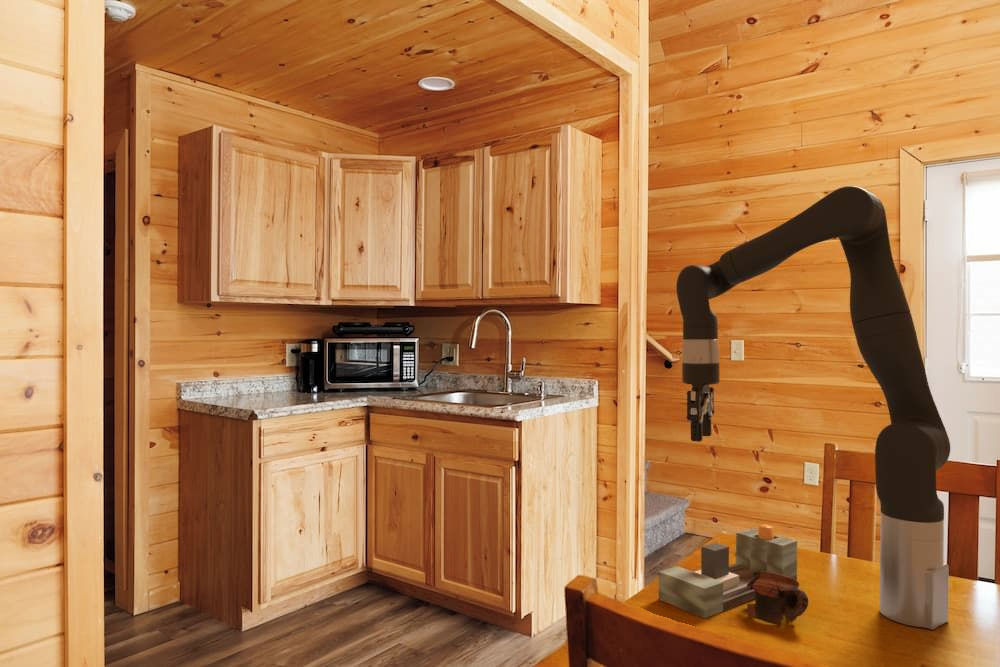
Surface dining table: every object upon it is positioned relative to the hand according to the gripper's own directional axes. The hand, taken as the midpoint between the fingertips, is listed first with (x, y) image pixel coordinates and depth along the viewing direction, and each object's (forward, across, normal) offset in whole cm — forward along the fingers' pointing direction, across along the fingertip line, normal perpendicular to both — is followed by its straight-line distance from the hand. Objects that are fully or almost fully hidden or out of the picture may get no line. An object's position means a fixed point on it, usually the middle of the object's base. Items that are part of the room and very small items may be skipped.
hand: (701, 438), depth 144 cm
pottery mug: (+26, -21, -17) cm, 38 cm away
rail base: (+26, -14, -8) cm, 30 cm away
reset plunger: (+22, -3, -13) cm, 26 cm away
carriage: (+24, -18, -6) cm, 30 cm away
